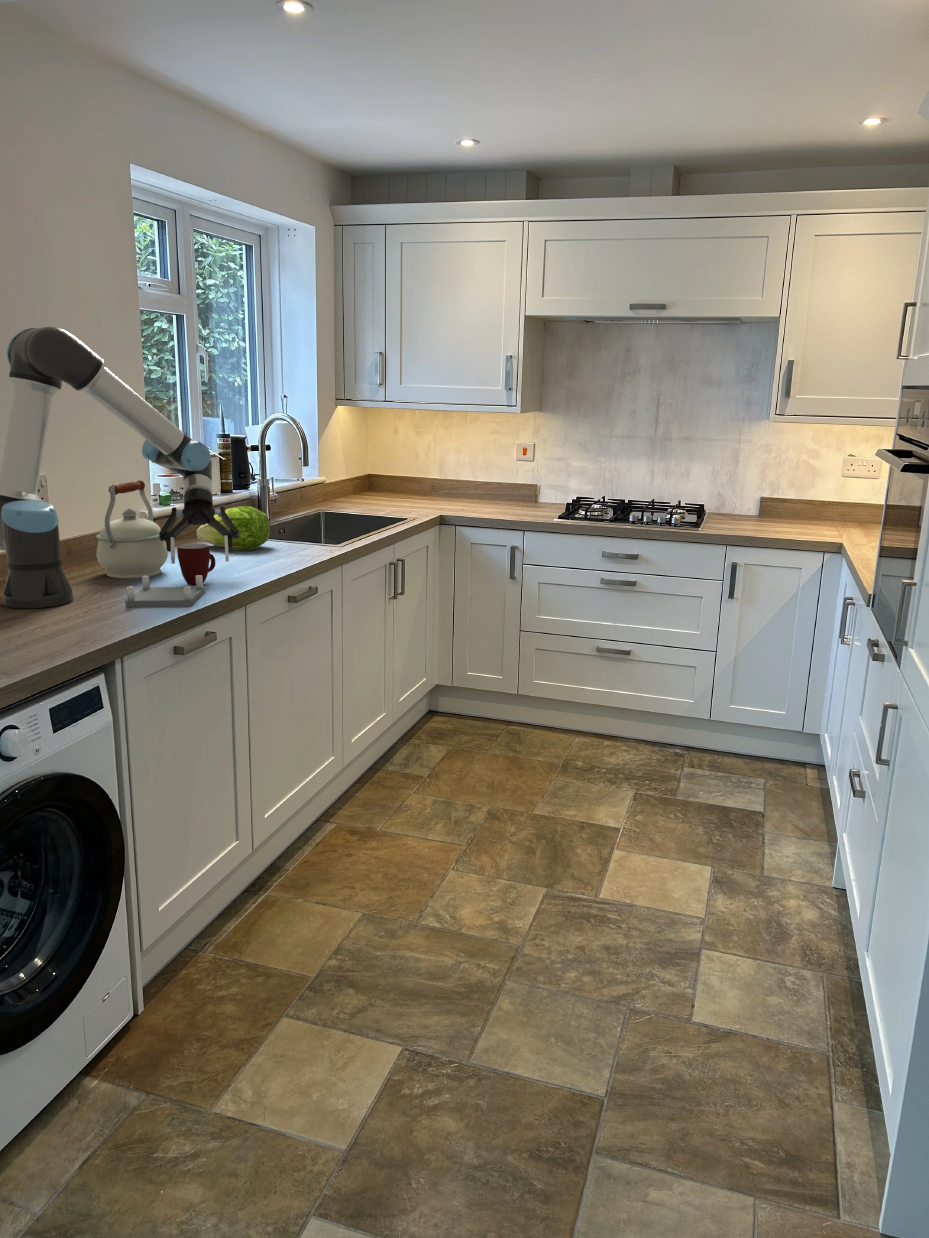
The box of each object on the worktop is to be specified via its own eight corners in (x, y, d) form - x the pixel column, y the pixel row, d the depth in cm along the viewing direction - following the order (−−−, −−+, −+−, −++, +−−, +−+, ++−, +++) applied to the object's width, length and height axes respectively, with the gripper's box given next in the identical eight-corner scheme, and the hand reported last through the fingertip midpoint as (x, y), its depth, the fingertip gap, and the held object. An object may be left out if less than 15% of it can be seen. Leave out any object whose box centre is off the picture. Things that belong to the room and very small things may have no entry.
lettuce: (213, 521, 308) (187, 503, 294) (278, 514, 300) (254, 496, 287) (209, 562, 304) (181, 546, 290) (274, 556, 296) (250, 539, 283)
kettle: (143, 583, 243) (136, 487, 237) (80, 580, 246) (71, 485, 240) (189, 566, 266) (184, 478, 260) (131, 563, 270) (124, 477, 264)
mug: (201, 578, 249) (199, 541, 247) (224, 581, 246) (222, 543, 243) (172, 585, 240) (170, 547, 238) (196, 588, 237) (194, 549, 234)
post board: (126, 607, 216) (124, 588, 215) (143, 593, 231) (142, 575, 230) (191, 606, 217) (190, 587, 216) (204, 592, 232) (203, 575, 231)
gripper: (245, 502, 258) (249, 565, 248) (151, 505, 253) (151, 569, 242) (244, 485, 252) (248, 549, 242) (148, 487, 246) (148, 553, 236)
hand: (200, 559), depth 242 cm, fingers open, 13 cm apart
